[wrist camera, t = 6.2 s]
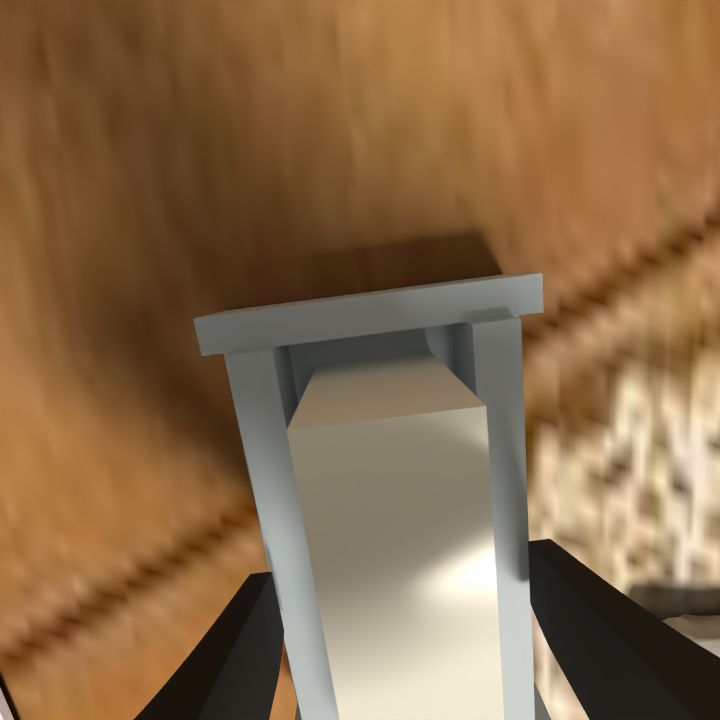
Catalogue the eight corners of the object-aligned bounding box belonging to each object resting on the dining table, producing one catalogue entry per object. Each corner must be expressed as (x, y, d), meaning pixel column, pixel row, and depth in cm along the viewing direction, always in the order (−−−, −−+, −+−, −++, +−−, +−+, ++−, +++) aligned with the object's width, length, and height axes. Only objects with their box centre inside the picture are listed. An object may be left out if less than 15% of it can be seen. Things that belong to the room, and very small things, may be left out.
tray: (305, 693, 15) (292, 791, 12) (226, 310, 12) (184, 320, 9) (521, 669, 15) (560, 763, 12) (503, 274, 12) (553, 272, 9)
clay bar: (458, 662, 14) (513, 872, 9) (365, 672, 14) (370, 886, 9) (430, 350, 11) (486, 405, 6) (316, 365, 11) (286, 430, 6)
